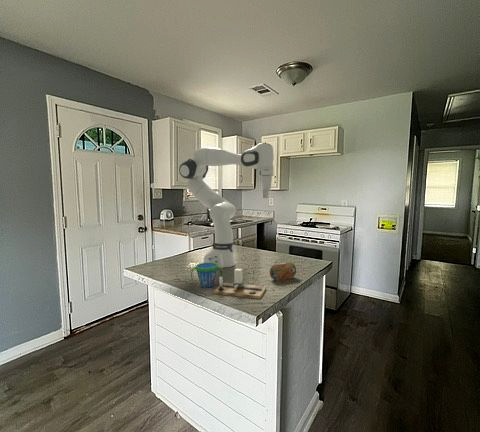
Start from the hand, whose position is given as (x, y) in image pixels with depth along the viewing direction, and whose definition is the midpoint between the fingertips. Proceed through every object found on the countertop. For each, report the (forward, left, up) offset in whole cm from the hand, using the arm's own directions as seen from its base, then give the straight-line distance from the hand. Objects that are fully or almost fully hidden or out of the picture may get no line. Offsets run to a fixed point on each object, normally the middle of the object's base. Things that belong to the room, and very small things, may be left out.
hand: (265, 198), depth 148 cm
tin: (+11, -9, -42) cm, 45 cm away
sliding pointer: (-6, -32, -40) cm, 52 cm away
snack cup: (-23, -29, -42) cm, 56 cm away
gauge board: (-5, -32, -42) cm, 53 cm away
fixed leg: (-13, -35, -41) cm, 56 cm away
